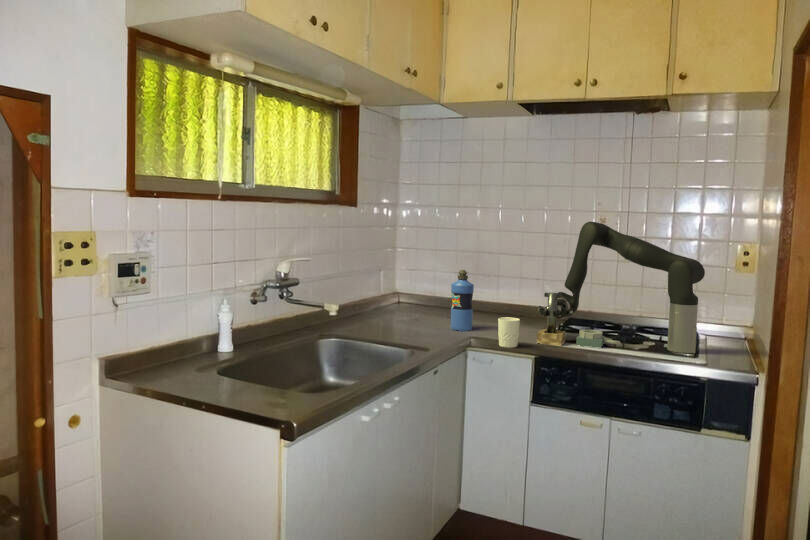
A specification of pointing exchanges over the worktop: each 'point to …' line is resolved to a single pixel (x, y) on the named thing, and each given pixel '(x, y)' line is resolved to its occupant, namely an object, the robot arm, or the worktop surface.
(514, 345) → the white cup
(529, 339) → the worktop surface
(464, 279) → the water bottle
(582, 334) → the chuck block
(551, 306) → the chuck key
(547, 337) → the tan flat block
